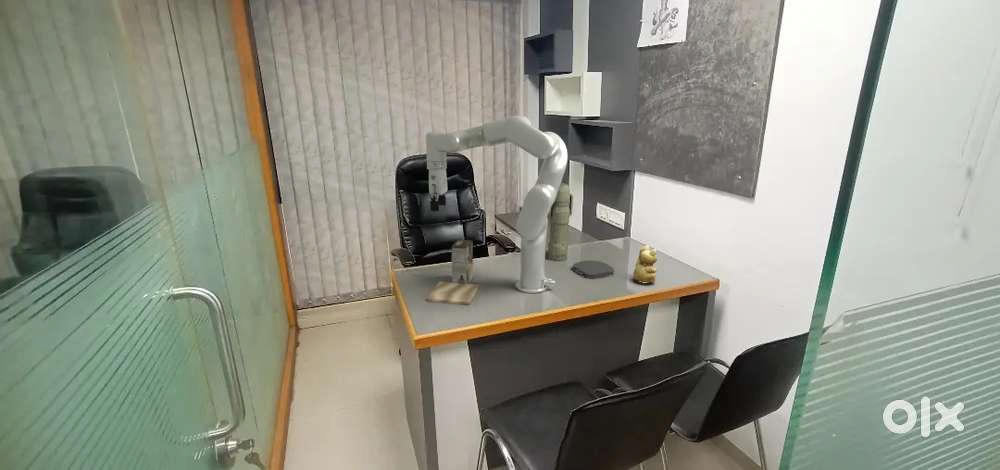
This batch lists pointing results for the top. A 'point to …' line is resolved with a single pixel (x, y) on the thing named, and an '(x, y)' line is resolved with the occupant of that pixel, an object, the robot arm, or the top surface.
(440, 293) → the board
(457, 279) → the coffee box
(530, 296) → the top surface
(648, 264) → the decorative figurine
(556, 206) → the thermos
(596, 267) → the media streaming box
